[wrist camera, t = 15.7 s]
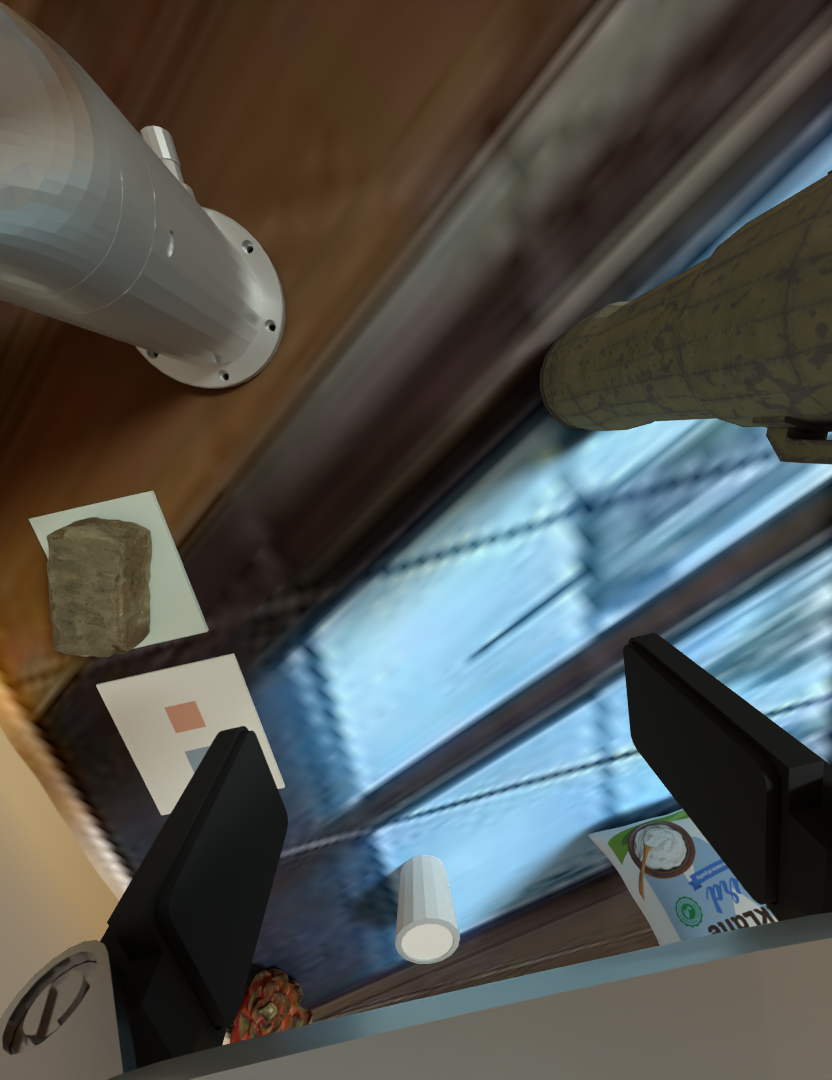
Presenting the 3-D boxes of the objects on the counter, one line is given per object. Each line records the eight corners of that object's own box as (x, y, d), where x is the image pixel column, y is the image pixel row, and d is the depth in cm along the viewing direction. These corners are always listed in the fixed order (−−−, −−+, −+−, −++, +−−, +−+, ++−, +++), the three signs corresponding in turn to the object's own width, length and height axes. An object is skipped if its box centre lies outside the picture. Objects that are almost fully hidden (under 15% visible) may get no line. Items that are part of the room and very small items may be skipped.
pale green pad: (32, 518, 35) (28, 518, 35) (153, 490, 35) (150, 491, 35) (99, 654, 39) (96, 657, 39) (208, 629, 39) (206, 631, 39)
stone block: (91, 629, 38) (47, 657, 33) (86, 511, 35) (38, 523, 30) (155, 636, 38) (121, 665, 34) (155, 521, 36) (118, 534, 31)
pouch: (741, 807, 49) (968, 1050, 30) (591, 851, 49) (718, 1118, 30) (736, 757, 47) (975, 983, 28) (579, 803, 47) (707, 1057, 28)
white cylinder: (459, 879, 49) (470, 950, 43) (409, 900, 50) (412, 974, 43) (436, 842, 48) (443, 910, 41) (384, 864, 48) (383, 935, 41)
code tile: (97, 684, 40) (95, 685, 40) (233, 653, 40) (233, 654, 40) (162, 813, 44) (161, 815, 44) (285, 786, 44) (284, 787, 44)
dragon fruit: (274, 929, 52) (299, 972, 57) (206, 994, 47) (240, 1035, 52) (303, 998, 46) (328, 1040, 51) (228, 1081, 41) (264, 1118, 46)
